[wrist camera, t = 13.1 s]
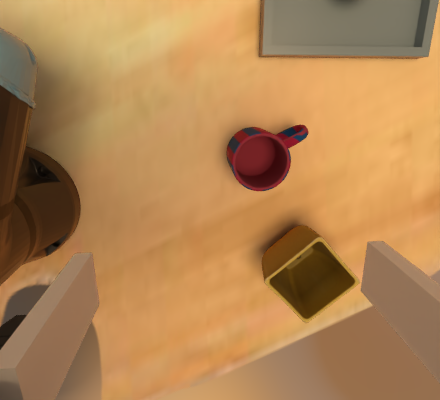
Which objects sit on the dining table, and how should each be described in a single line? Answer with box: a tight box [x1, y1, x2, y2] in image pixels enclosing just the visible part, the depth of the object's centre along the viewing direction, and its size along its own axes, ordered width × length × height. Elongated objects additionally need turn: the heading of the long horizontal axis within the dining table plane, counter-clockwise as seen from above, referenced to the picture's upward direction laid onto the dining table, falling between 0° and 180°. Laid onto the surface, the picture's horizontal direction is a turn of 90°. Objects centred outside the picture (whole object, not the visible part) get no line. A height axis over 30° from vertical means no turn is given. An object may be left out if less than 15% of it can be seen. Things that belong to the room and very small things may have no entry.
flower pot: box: [262, 225, 360, 323], centre depth 43 cm, size 9×9×9 cm
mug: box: [227, 125, 308, 191], centre depth 39 cm, size 7×10×7 cm
